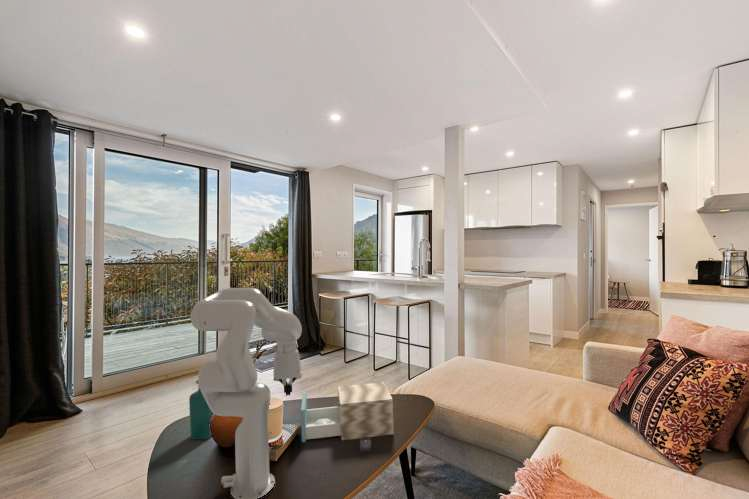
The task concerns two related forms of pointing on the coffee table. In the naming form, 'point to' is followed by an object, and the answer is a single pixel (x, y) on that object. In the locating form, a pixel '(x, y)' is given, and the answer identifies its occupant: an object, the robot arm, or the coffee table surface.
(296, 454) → the coffee table surface
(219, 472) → the coffee table surface
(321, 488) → the coffee table surface
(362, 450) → the stand
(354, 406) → the cabinet
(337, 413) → the drawer
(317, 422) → the disc
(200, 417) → the teal bottle vase
